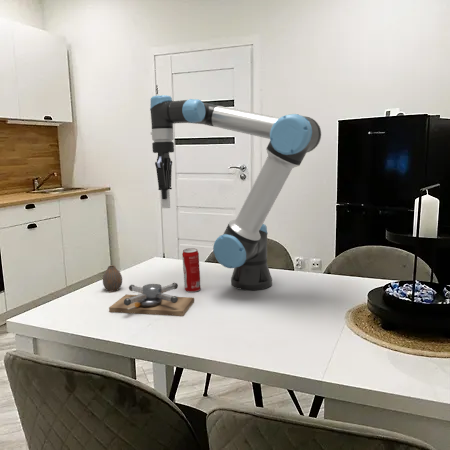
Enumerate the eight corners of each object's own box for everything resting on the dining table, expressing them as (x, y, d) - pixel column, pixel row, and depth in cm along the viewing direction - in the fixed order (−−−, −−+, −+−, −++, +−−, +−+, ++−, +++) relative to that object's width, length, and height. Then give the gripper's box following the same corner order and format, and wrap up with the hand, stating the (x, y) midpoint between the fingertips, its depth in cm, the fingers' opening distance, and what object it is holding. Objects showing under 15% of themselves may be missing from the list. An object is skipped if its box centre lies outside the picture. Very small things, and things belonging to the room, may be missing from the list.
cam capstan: (155, 286, 161) (154, 273, 160) (201, 299, 147) (201, 284, 146) (102, 304, 144) (101, 288, 143) (149, 319, 130) (148, 302, 129)
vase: (120, 292, 161) (118, 268, 160) (100, 292, 161) (99, 268, 160) (124, 286, 168) (123, 263, 167) (106, 286, 168) (104, 263, 167)
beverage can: (201, 287, 165) (200, 247, 162) (199, 293, 158) (197, 251, 156) (185, 287, 165) (184, 247, 163) (182, 293, 159) (180, 251, 157)
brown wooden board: (194, 301, 150) (194, 296, 149) (181, 317, 136) (181, 311, 136) (126, 298, 154) (125, 293, 154) (107, 313, 141) (107, 307, 140)
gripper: (158, 141, 166) (161, 205, 170) (146, 141, 153) (150, 210, 157) (178, 141, 165) (180, 205, 169) (167, 140, 152) (170, 210, 156)
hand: (166, 207), depth 163 cm, fingers closed
